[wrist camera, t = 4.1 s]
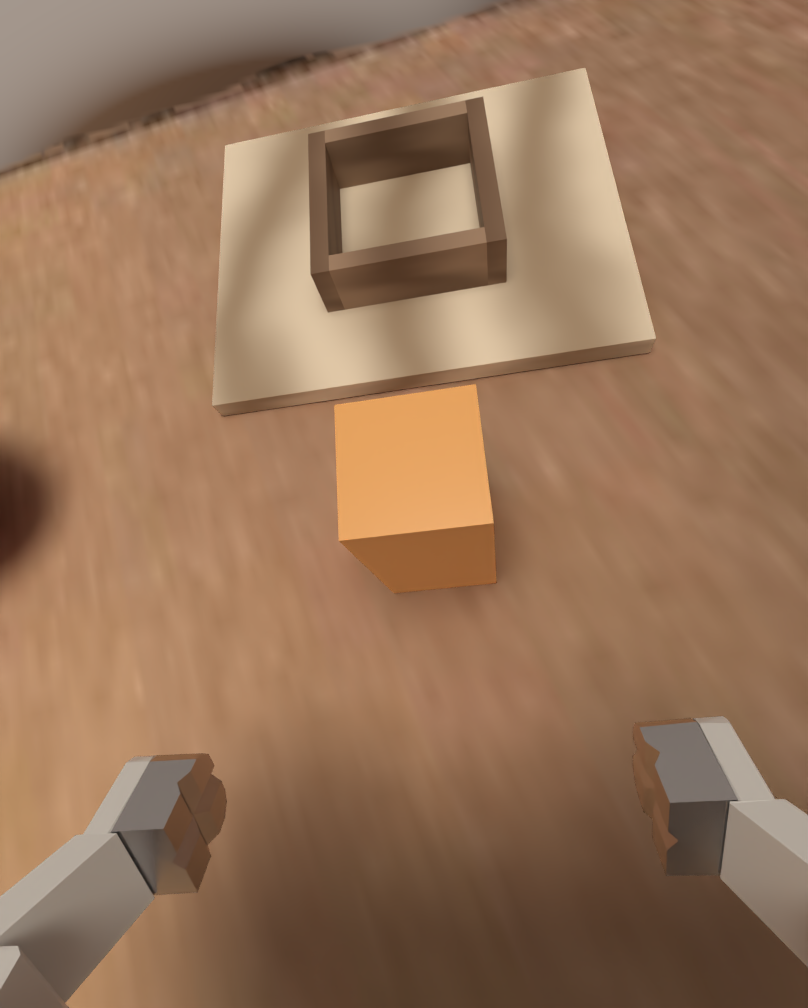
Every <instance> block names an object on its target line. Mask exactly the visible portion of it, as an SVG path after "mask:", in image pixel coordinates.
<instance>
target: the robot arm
mask: <svg viewBox="0 0 808 1008" xmlns="http://www.w3.org/2000/svg"><path fill="white" fill-rule="evenodd" d="M633 739H634V742H635V745H636V748H637V752H636V753H635V754H634V755H633V772H634V779H635V785H636V789H637V793H638V796H639V800H640V803H641V806H642V809H643V812H644V813H646V814H647V815H648V816H649V817H650V818H651V819H652V838H653V840H654V843H655V846H656V849H657V852H658V855H659V857H660V860H661V863H662V866H663V869H664V871H665V874H666V876H687V875H720V878H721V880H722V881H723V882H724V883H725V884H726V885H727V886H728V887H729V888H730V889H731V890H732V891H733V892H734V893H735V894H736V895H737V896H738V897H739V898H740V899H741V900H742V901H743V902H744V903H745V904H746V905H747V906H748V907H749V908H750V909H751V910H752V911H753V912H754V913H755V914H756V915H757V916H758V917H759V918H760V919H761V920H762V921H763V922H764V923H765V924H766V925H767V926H768V927H769V928H770V929H771V931H772V932H773V933H774V934H775V935H776V936H777V937H778V938H779V939H780V940H781V941H782V942H783V943H784V944H785V945H786V946H787V947H788V948H789V949H790V950H791V951H792V952H793V953H794V954H795V955H796V956H797V957H798V958H799V959H800V960H801V961H802V962H803V963H804V964H805V965H806V966H807V967H808V815H807V814H806V813H805V812H803V811H802V810H800V809H799V808H797V807H796V806H795V805H793V804H792V803H790V802H789V801H787V800H786V799H775V798H774V796H773V794H772V792H771V791H770V789H769V787H768V786H767V784H766V782H765V781H764V779H763V777H762V776H761V774H760V772H759V771H758V769H757V767H756V765H755V764H754V762H753V760H752V759H751V757H750V755H749V754H748V752H747V750H746V749H745V747H744V745H743V744H742V742H741V740H740V739H739V737H738V735H737V733H736V732H735V730H734V728H733V727H732V725H731V723H730V722H729V720H727V719H726V718H725V717H724V716H719V717H706V718H694V719H691V718H687V719H675V720H662V721H650V722H638V723H635V724H634V727H633ZM213 768H214V763H213V761H212V760H211V758H210V756H209V754H203V753H201V754H176V755H157V756H137V757H133V758H132V759H130V760H129V761H128V762H127V763H126V764H125V765H124V767H123V769H122V770H121V772H120V774H119V775H118V777H117V779H116V780H115V782H114V784H113V785H112V787H111V789H110V790H109V792H108V794H107V795H106V797H105V799H104V800H103V802H102V804H101V805H100V807H99V809H98V810H97V812H96V814H95V815H94V817H93V819H92V820H91V822H90V824H89V825H88V827H87V829H86V830H85V832H84V834H82V835H75V836H74V837H73V838H72V839H70V840H69V841H68V842H67V843H65V844H64V845H63V846H62V847H61V848H59V849H58V850H57V851H56V852H54V853H53V854H52V855H51V856H49V857H48V858H47V859H46V860H45V861H43V862H42V863H41V864H40V865H38V866H37V867H36V868H35V869H34V870H32V871H31V872H30V873H29V874H27V875H26V876H25V877H24V878H22V879H21V880H20V881H19V882H18V883H16V884H15V885H14V886H13V887H11V888H10V889H9V890H8V891H7V892H5V893H4V894H3V895H2V896H0V1008H69V1007H68V1006H67V1005H66V1001H67V1000H68V999H69V998H70V997H71V995H72V994H73V993H74V992H75V991H76V990H77V988H78V987H79V986H80V985H81V984H82V983H83V981H84V980H85V979H86V978H87V977H88V976H89V974H90V973H91V972H92V971H93V970H94V969H95V967H96V966H97V965H98V964H99V963H100V962H101V960H102V959H103V958H104V957H105V956H106V955H107V953H108V952H109V951H110V950H111V949H112V948H113V946H114V945H115V944H116V943H117V942H118V940H119V939H120V938H121V937H122V936H123V935H124V933H125V932H126V931H127V930H128V929H129V928H130V926H131V925H132V924H133V923H134V922H135V921H136V919H137V918H138V917H139V916H140V915H141V914H142V912H143V911H144V910H145V909H146V908H147V907H148V905H149V904H150V903H151V902H152V901H153V900H154V898H155V897H154V895H164V894H179V893H194V892H198V890H199V887H200V884H201V882H202V879H203V876H204V874H205V871H206V868H207V866H208V863H209V860H210V858H211V854H210V850H209V847H208V844H209V843H210V842H211V841H212V840H213V839H214V838H215V837H216V836H217V835H218V834H219V833H220V830H221V828H222V825H223V822H224V819H225V812H226V804H227V799H226V792H225V788H224V786H223V784H222V781H221V780H219V779H218V778H216V777H215V776H213V775H212V774H211V773H212V770H213Z"/></svg>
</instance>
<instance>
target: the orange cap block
mask: <svg viewBox="0 0 808 1008" xmlns="http://www.w3.org/2000/svg"><path fill="white" fill-rule="evenodd" d="M334 407H335V438H336V469H337V501H338V532H339V542H341V543H342V544H343V545H344V546H345V547H346V548H347V549H348V550H349V551H350V552H351V553H352V554H353V555H354V556H355V557H356V558H357V559H358V560H359V561H361V562H362V563H363V564H364V565H365V566H366V567H367V568H368V569H369V570H370V571H371V572H372V573H373V574H374V575H375V576H376V577H377V578H378V579H380V580H381V581H382V582H383V583H384V584H385V585H386V586H387V587H388V588H389V589H390V590H391V591H392V592H393V593H403V592H413V591H422V590H432V589H442V588H452V587H462V586H472V585H482V584H492V583H497V582H496V561H495V540H494V522H493V514H492V506H491V498H490V491H489V483H488V475H487V468H486V460H485V452H484V444H483V437H482V429H481V421H480V413H479V406H478V398H477V390H476V384H474V385H467V386H460V387H454V388H447V389H440V390H433V391H426V392H420V393H413V394H406V395H399V396H393V397H386V398H379V399H372V400H365V401H359V402H352V403H345V404H338V405H334Z"/></svg>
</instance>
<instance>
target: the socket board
mask: <svg viewBox="0 0 808 1008" xmlns="http://www.w3.org/2000/svg"><path fill="white" fill-rule="evenodd" d="M655 339H656V337H655V333H654V329H653V325H652V321H651V317H650V314H649V310H648V306H647V302H646V298H645V294H644V291H643V287H642V283H641V279H640V275H639V272H638V268H637V264H636V260H635V256H634V252H633V249H632V245H631V241H630V237H629V233H628V229H627V226H626V222H625V218H624V214H623V210H622V206H621V203H620V199H619V195H618V191H617V187H616V183H615V180H614V176H613V172H612V168H611V164H610V160H609V157H608V153H607V149H606V145H605V141H604V138H603V134H602V130H601V126H600V122H599V118H598V115H597V111H596V107H595V103H594V99H593V95H592V92H591V88H590V84H589V80H588V76H587V72H586V69H585V68H582V69H577V70H572V71H568V72H563V73H558V74H554V75H549V76H545V77H540V78H535V79H531V80H526V81H521V82H517V83H512V84H507V85H503V86H498V87H494V88H489V89H484V90H480V91H475V92H470V93H466V94H461V95H456V96H452V97H447V98H443V99H438V100H433V101H429V102H424V103H419V104H415V105H410V106H406V107H401V108H396V109H392V110H387V111H382V112H378V113H373V114H368V115H364V116H359V117H355V118H350V119H345V120H341V121H336V122H331V123H327V124H322V125H318V126H313V127H308V128H304V129H299V130H294V131H290V132H285V133H280V134H276V135H271V136H267V137H262V138H257V139H253V140H248V141H243V142H239V143H234V144H229V145H225V161H224V181H223V201H222V221H221V240H220V260H219V280H218V300H217V320H216V339H215V359H214V379H213V399H212V406H213V407H214V408H215V409H216V410H217V411H218V412H219V413H220V414H221V415H222V416H227V415H234V414H240V413H247V412H254V411H261V410H267V409H274V408H281V407H287V406H294V405H301V404H308V403H314V402H321V401H328V400H335V399H341V398H348V397H355V396H361V395H368V394H375V393H382V392H388V391H395V390H402V389H408V388H415V387H422V386H429V385H435V384H442V383H449V382H456V381H462V380H469V379H476V378H482V377H489V376H496V375H503V374H509V373H516V372H523V371H529V370H536V369H543V368H550V367H556V366H563V365H570V364H577V363H583V362H590V361H597V360H603V359H610V358H617V357H624V356H630V355H637V354H644V353H650V351H651V349H652V346H653V344H654V342H655Z"/></svg>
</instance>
